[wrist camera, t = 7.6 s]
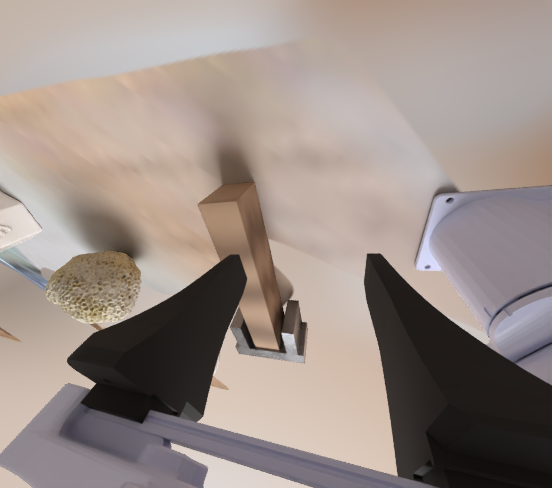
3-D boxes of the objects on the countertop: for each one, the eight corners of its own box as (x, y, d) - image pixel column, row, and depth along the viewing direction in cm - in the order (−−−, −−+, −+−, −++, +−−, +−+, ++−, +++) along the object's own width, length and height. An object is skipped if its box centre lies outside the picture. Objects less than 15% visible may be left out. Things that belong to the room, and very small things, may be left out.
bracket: (303, 301, 27) (299, 334, 23) (307, 330, 31) (304, 363, 27) (238, 297, 30) (224, 326, 26) (249, 324, 34) (239, 353, 30)
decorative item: (144, 231, 26) (63, 287, 18) (176, 279, 31) (123, 340, 23) (84, 237, 29) (-5, 286, 22) (121, 279, 34) (58, 332, 26)
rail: (285, 318, 31) (279, 350, 27) (264, 317, 32) (255, 347, 28) (255, 181, 19) (236, 201, 15) (223, 184, 20) (197, 204, 16)
